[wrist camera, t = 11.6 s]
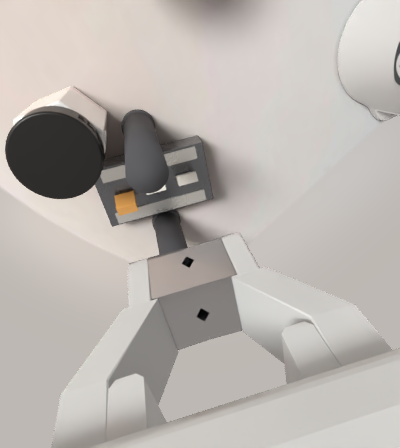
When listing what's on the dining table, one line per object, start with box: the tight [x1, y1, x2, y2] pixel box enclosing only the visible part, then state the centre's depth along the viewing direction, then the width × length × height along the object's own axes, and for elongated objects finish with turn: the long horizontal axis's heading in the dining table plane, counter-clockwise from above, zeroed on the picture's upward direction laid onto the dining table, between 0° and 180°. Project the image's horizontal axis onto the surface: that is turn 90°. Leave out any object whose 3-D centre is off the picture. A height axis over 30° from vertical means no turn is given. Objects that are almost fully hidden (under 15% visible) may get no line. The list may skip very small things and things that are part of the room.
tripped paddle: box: [114, 191, 138, 216], centre depth 41 cm, size 2×1×2 cm, turn 101°
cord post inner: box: [122, 110, 169, 193], centre depth 34 cm, size 4×4×16 cm
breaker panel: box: [95, 136, 213, 226], centre depth 43 cm, size 14×8×3 cm, turn 101°
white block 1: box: [146, 185, 166, 195], centre depth 41 cm, size 2×1×2 cm, turn 101°
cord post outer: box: [152, 210, 188, 255], centre depth 42 cm, size 4×4×16 cm
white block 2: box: [176, 171, 198, 186], centre depth 41 cm, size 2×1×2 cm, turn 101°
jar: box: [5, 86, 107, 199], centre depth 34 cm, size 9×8×12 cm
